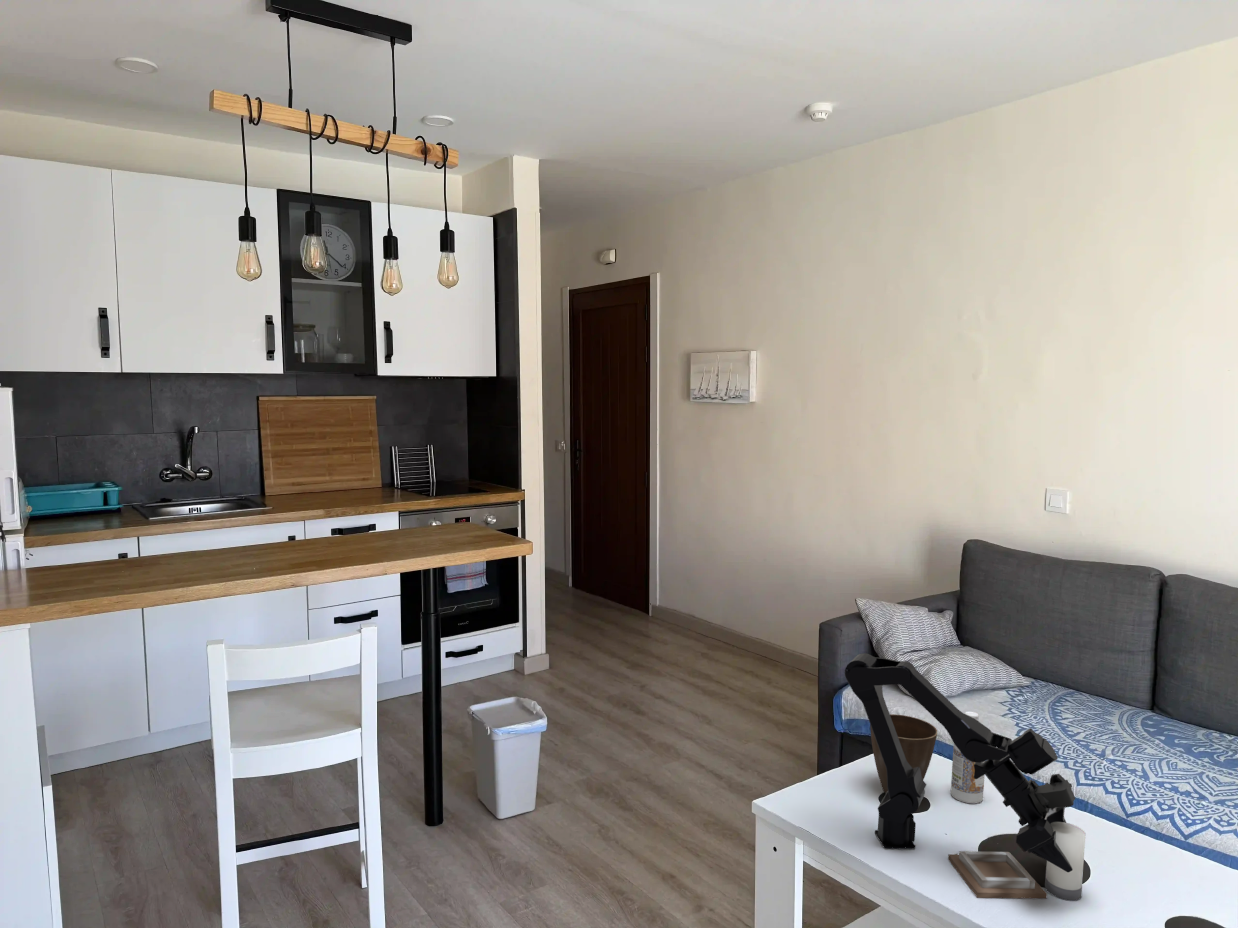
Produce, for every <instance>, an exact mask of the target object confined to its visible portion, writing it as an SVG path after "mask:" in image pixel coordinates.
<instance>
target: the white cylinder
mask: <svg viewBox="0 0 1238 928" xmlns="http://www.w3.org/2000/svg"><path fill="white" fill-rule="evenodd" d="M1051 826H1052V828H1053V830H1054V831H1056V843H1057V845H1058V846H1059V848H1060V849H1061V851H1062V852H1063V854H1064V856H1065V857H1066V859H1067V860H1068V862H1069V863H1070V865H1071V867H1072V869H1073V870H1072V871H1070V872H1066V871H1064V870H1063V869H1061V868H1059V867H1057V866H1056V865H1054V864H1052V863H1050V862H1049V861H1047V860H1046V865H1045V866H1046V867H1045V879H1044V889H1045V890H1046V892H1047V893H1048V894H1050V896H1051V895H1052V896H1054V897H1055V898H1057V899H1060V900H1064V901H1069V902H1071V901H1072V902H1074V901H1075V902H1076V901H1079V900H1080V899H1081V898H1082V895H1083V893H1082V892H1083V891H1082V890H1083V872H1084V862H1085V861H1084V860H1085V848H1086V847H1085V846H1086V832H1085V830H1083V829H1082V828H1081V827H1079V826H1077V825H1074V824H1073V823H1069V822H1066V823H1065V822H1053V823H1051ZM1054 831H1053V832H1054Z"/></svg>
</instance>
